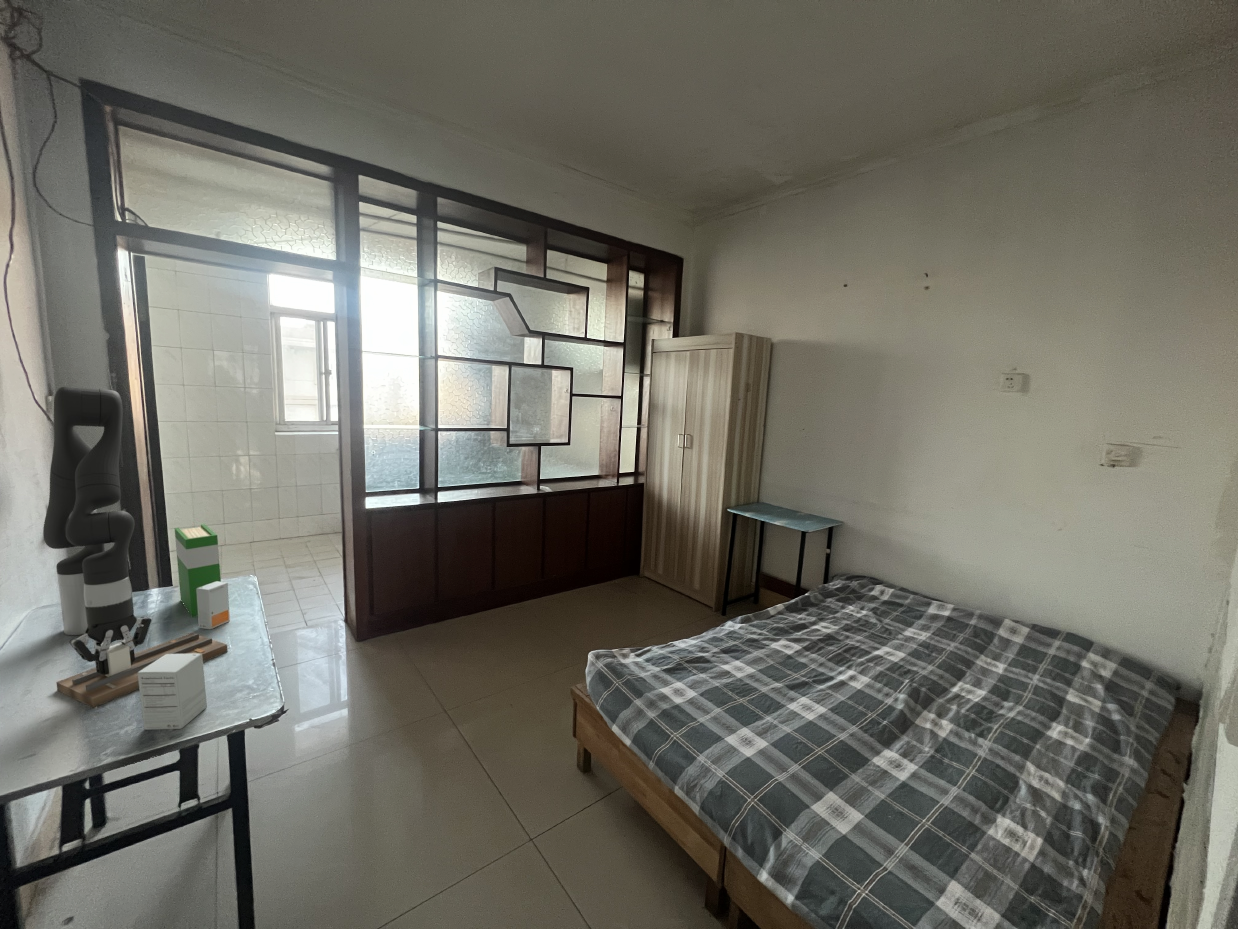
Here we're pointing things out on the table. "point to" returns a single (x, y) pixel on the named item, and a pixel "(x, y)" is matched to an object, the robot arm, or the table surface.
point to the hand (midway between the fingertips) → (116, 669)
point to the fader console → (134, 670)
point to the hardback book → (196, 562)
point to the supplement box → (172, 691)
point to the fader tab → (118, 659)
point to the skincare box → (213, 605)
